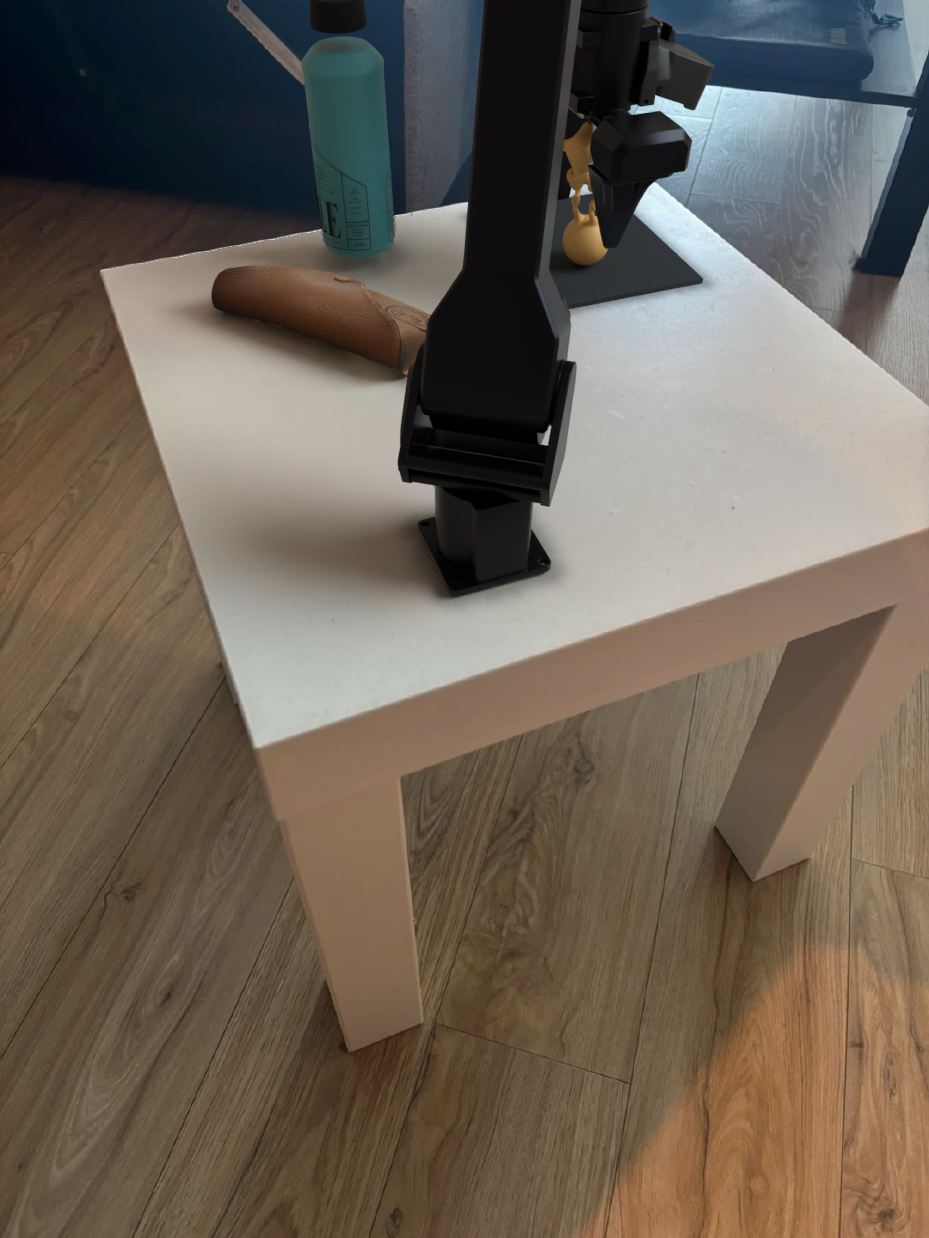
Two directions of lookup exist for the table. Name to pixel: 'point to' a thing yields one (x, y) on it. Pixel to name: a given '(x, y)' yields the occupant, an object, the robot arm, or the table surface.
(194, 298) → the table surface
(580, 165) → the figurine
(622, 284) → the mat
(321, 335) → the sunglasses case
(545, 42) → the robot arm
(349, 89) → the beverage bottle
